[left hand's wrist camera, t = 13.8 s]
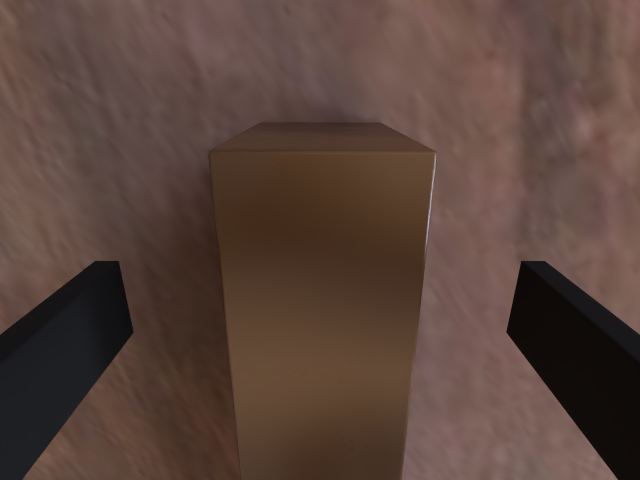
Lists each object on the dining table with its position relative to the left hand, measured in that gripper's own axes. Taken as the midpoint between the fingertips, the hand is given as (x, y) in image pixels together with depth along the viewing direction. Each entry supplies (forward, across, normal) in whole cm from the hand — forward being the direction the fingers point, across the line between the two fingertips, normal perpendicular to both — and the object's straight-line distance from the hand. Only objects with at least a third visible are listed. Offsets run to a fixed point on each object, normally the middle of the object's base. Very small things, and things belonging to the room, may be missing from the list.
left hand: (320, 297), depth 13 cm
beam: (+5, 0, -20) cm, 21 cm away
